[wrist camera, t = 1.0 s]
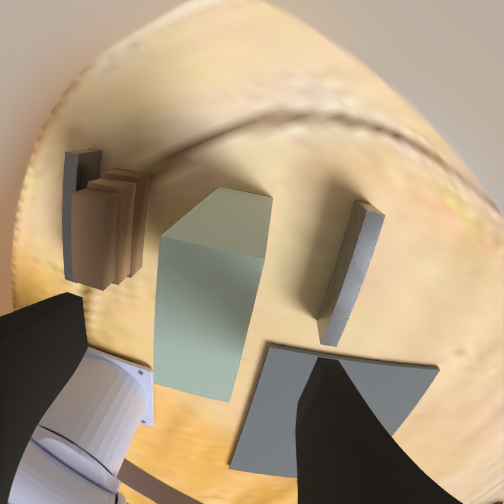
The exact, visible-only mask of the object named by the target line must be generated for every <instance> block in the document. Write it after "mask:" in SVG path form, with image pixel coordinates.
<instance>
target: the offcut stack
mask: <svg viewBox="0 0 504 504" xmlns="http://www.w3.org/2000/svg"><path fill="white" fill-rule="evenodd" d="M150 175H151V174H148V173H142V172H136V171H130V170H123V169H117V168H116V169H111V170H107V171H103V172H101V178H100V179H96V180H93V181H90V182H88V185H87V188H85V189H82V190H79V191H76V192H73V193H72V205H71V247H72V270H73V281H75V282H78V283H81V284H84V285H87V286H90V287H93V288H96V289H99V290H102V291H104V290H105V289H106V288H107V287H108V286H109V285H110V284H111V283H113V284H117V285H119V284H120V283H121V282H122V281H123V280H124V279H125V278H126V277H130V278H131V277H132V276H133V275H134V274H135V273H136V272H137V271H138V270H139V269H140V268H141V267H142V258H143V243H144V230H145V219H146V209H147V199H148V191H149V182H150Z"/></svg>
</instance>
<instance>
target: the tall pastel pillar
mask: <svg viewBox="0 0 504 504" xmlns="http://www.w3.org/2000/svg"><path fill="white" fill-rule="evenodd" d="M272 201H273V198H272V197H267V196H263V195H258V194H253V193H249V192H244V191H239V190H234V189H230V188H225V187H219V188H217V189H216V190H215V191H214V192H212V193H211V194H210V195H209V196H207V197H206V198H205V199H204V200H203V201H201V202H200V203H199V204H198V205H196V206H195V207H194V208H193V209H192V210H190V211H189V212H188V213H187V214H186V215H184V216H183V217H182V218H181V219H180V220H179V221H177V222H176V223H175V224H174V225H173V226H171V227H170V228H169V229H168V230H167V231H166V232H165V233H163V234H162V235H161V237H160V247H159V258H158V271H157V285H156V302H155V323H154V371H153V379H154V383H156V384H159V385H162V386H166V387H169V388H173V389H176V390H180V391H183V392H187V393H191V394H195V395H199V396H203V397H207V398H211V399H215V400H220V401H224V402H229V403H230V399H231V395H232V391H233V387H234V383H235V379H236V375H237V371H238V367H239V363H240V359H241V355H242V351H243V347H244V343H245V339H246V335H247V331H248V327H249V323H250V319H251V315H252V311H253V306H254V302H255V298H256V294H257V290H258V286H259V282H260V277H261V273H262V269H263V265H264V261H265V254H266V247H267V239H268V232H269V224H270V217H271V209H272Z"/></svg>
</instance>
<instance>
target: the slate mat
mask: <svg viewBox="0 0 504 504" xmlns="http://www.w3.org/2000/svg"><path fill="white" fill-rule="evenodd" d="M318 357H323V358H329V359H336V360H338V361H339V362H340V363H341V365H342V366H343V368H344V369H345V371H346V373H347V374H348V376H349V377H350V379H351V380H352V382H353V383H354V385H355V386H356V388H357V390H358V391H359V393H360V394H361V396H362V397H363V399H364V400H365V402H366V403H367V404H368V406H369V407H370V409H371V410H372V412H373V413H374V414H375V416H376V417H377V419H378V420H379V421H380V423H381V424H382V425H383V427H384V428H385V429H386V430H387V432H388V433H389V434H390V435H391V437H392V435H393V434H394V433H395V432H396V431H397V429H398V428H399V427H400V426H401V424H402V423H403V422H404V420H405V419H406V418H407V417H408V415H409V414H410V413H411V411H412V410H413V409H414V407H415V406H416V405H417V403H418V402H419V400H420V399H421V398H422V396H423V395H424V393H425V392H426V390H427V389H428V388H429V386H430V385H431V383H432V382H433V380H434V379H435V377H436V375H437V374H438V372H439V371H440V369H439V367H432V366H420V365H410V364H400V363H391V362H382V361H374V360H366V359H359V358H352V357H345V356H338V355H332V354H325V353H319V352H313V351H307V350H302V349H296V348H291V347H285V346H280V345H275V344H270V345H269V348H268V352H267V355H266V358H265V361H264V365H263V368H262V371H261V374H260V377H259V380H258V383H257V387H256V390H255V393H254V396H253V399H252V402H251V405H250V408H249V411H248V414H247V417H246V420H245V423H244V426H243V429H242V432H241V435H240V437H239V440H238V443H237V446H236V449H235V452H234V455H233V457H232V460H231V463H230V466H229V469H233V470H239V471H244V472H251V473H257V474H265V475H273V476H282V477H292V478H297V462H296V440H295V427H296V414H297V402H298V400H299V398H300V396H301V394H302V392H303V390H304V387H305V385H306V383H307V381H308V379H309V376H310V374H311V372H312V370H313V367H314V365H315V363H316V360H317V358H318Z"/></svg>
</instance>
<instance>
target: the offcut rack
mask: <svg viewBox="0 0 504 504" xmlns="http://www.w3.org/2000/svg"><path fill="white" fill-rule="evenodd" d="M100 159H101V150H93V149H86V150H79V151H72V152H65V164H64V179H63V207H62V230H63V258H64V274H65V279H66V280H69V281H72V282H75V281H73V270H72V247H71V205H72V193H73V192H76V191H79V190H82V189H85V188H87V185H88V182H90V181H93V180H96V179H99V169H100ZM384 218H385V215H384V214H383V213H382V212H380V211H379V210H378V209H377V208H375V207H374V206H373V205H371V204H368V203H364V202H361V201H357V200H355V203H354V207H353V210H352V214H351V217H350V221H349V224H348V228H347V231H346V234H345V238H344V241H343V244H342V247H341V251H340V254H339V257H338V260H337V263H336V266H335V269H334V272H333V275H332V278H331V281H330V284H329V287H328V290H327V293H326V296H325V299H324V302H323V305H322V307H321V310H320V313H319V316H318V319H317V326H318V332H319V338H320V344H323V345H328V346H335V347H337V344H338V342H339V340H340V338H341V335H342V333H343V331H344V328H345V326H346V323H347V321H348V319H349V316H350V314H351V311H352V309H353V306H354V304H355V301H356V298H357V296H358V293H359V291H360V288H361V285H362V283H363V280H364V277H365V274H366V272H367V269H368V266H369V263H370V260H371V258H372V255H373V252H374V249H375V246H376V243H377V240H378V237H379V234H380V230H381V227H382V224H383V221H384ZM75 283H78V282H75Z"/></svg>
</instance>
